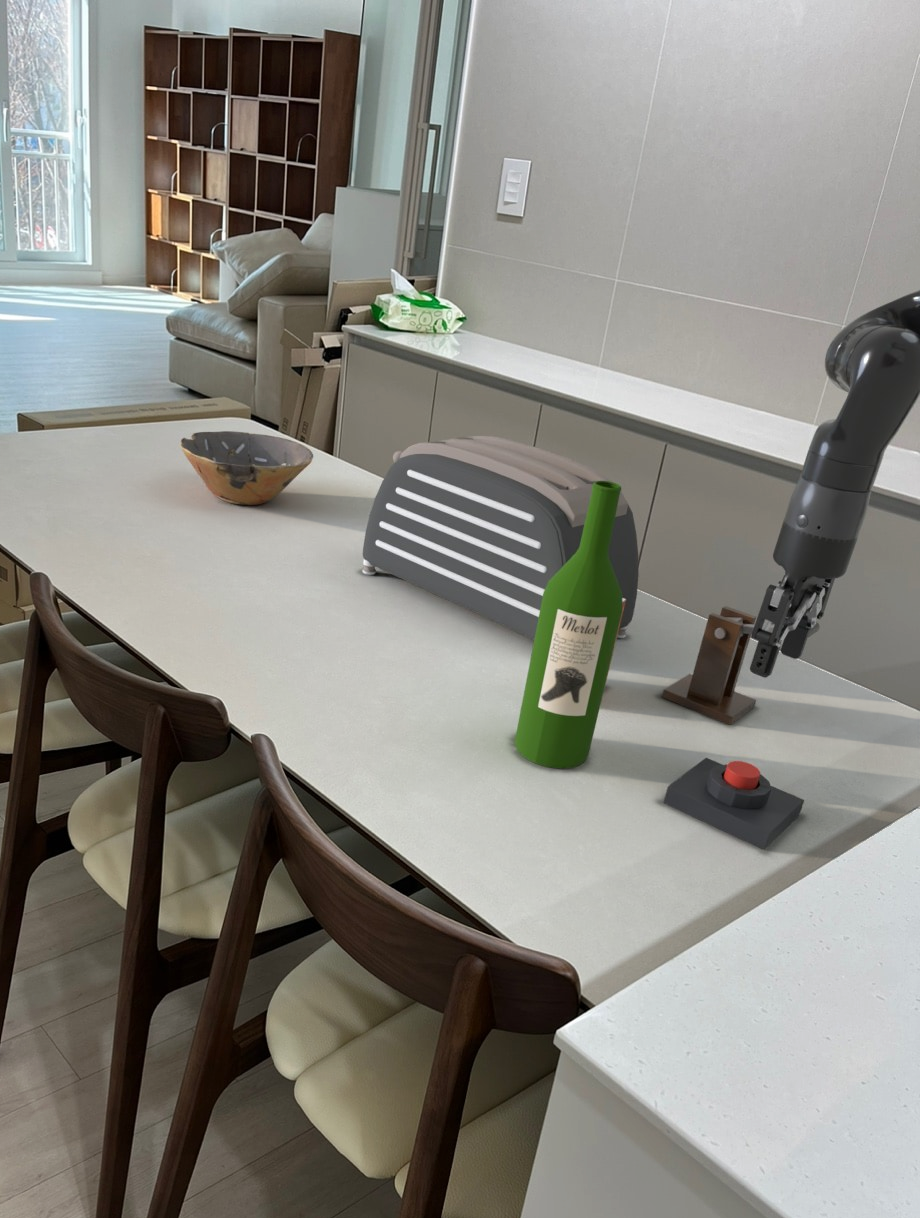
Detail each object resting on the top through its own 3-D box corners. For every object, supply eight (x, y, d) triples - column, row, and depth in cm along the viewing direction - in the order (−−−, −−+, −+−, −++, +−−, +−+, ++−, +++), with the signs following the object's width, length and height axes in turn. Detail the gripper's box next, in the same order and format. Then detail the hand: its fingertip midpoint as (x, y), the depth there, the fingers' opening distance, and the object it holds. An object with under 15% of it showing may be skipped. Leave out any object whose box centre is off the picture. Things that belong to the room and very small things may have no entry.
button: (761, 783, 118) (765, 770, 117) (748, 794, 115) (752, 781, 115) (731, 770, 120) (735, 757, 119) (717, 781, 117) (722, 767, 117)
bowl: (306, 526, 191) (310, 471, 186) (168, 512, 190) (169, 457, 185) (312, 486, 213) (316, 437, 209) (188, 474, 212) (190, 424, 207)
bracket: (754, 707, 144) (781, 621, 138) (730, 725, 138) (757, 635, 132) (687, 681, 149) (710, 596, 143) (661, 697, 144) (684, 609, 138)
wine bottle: (516, 764, 123) (570, 491, 108) (511, 727, 131) (561, 468, 116) (592, 773, 123) (657, 501, 108) (583, 736, 131) (642, 478, 116)
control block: (798, 816, 120) (809, 786, 118) (764, 850, 113) (775, 819, 111) (701, 773, 126) (710, 744, 124) (663, 802, 119) (671, 772, 117)
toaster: (421, 546, 188) (440, 410, 177) (632, 636, 161) (669, 483, 150) (342, 564, 175) (356, 419, 164) (556, 665, 149) (591, 500, 138)
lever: (820, 635, 134) (819, 617, 133) (805, 645, 130) (805, 626, 129) (727, 632, 142) (726, 614, 141) (711, 641, 138) (710, 623, 137)
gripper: (832, 547, 103) (781, 694, 111) (880, 525, 113) (831, 661, 121) (760, 524, 107) (716, 668, 115) (812, 505, 117) (769, 638, 125)
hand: (775, 664), depth 118 cm, fingers open, 8 cm apart
